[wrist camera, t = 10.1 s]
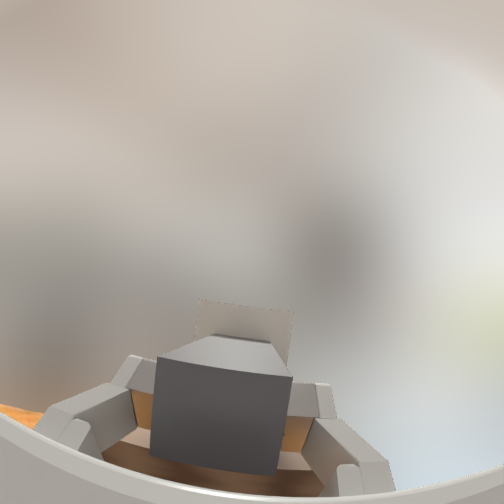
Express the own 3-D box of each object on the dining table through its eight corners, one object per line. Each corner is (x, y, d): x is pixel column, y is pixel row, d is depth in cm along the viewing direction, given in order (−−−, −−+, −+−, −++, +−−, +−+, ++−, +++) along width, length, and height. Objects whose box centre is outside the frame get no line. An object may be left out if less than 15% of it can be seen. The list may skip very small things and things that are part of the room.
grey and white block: (109, 443, 7) (124, 273, 8) (205, 360, 26) (213, 303, 27) (320, 477, 7) (350, 304, 8) (275, 370, 25) (283, 313, 26)
